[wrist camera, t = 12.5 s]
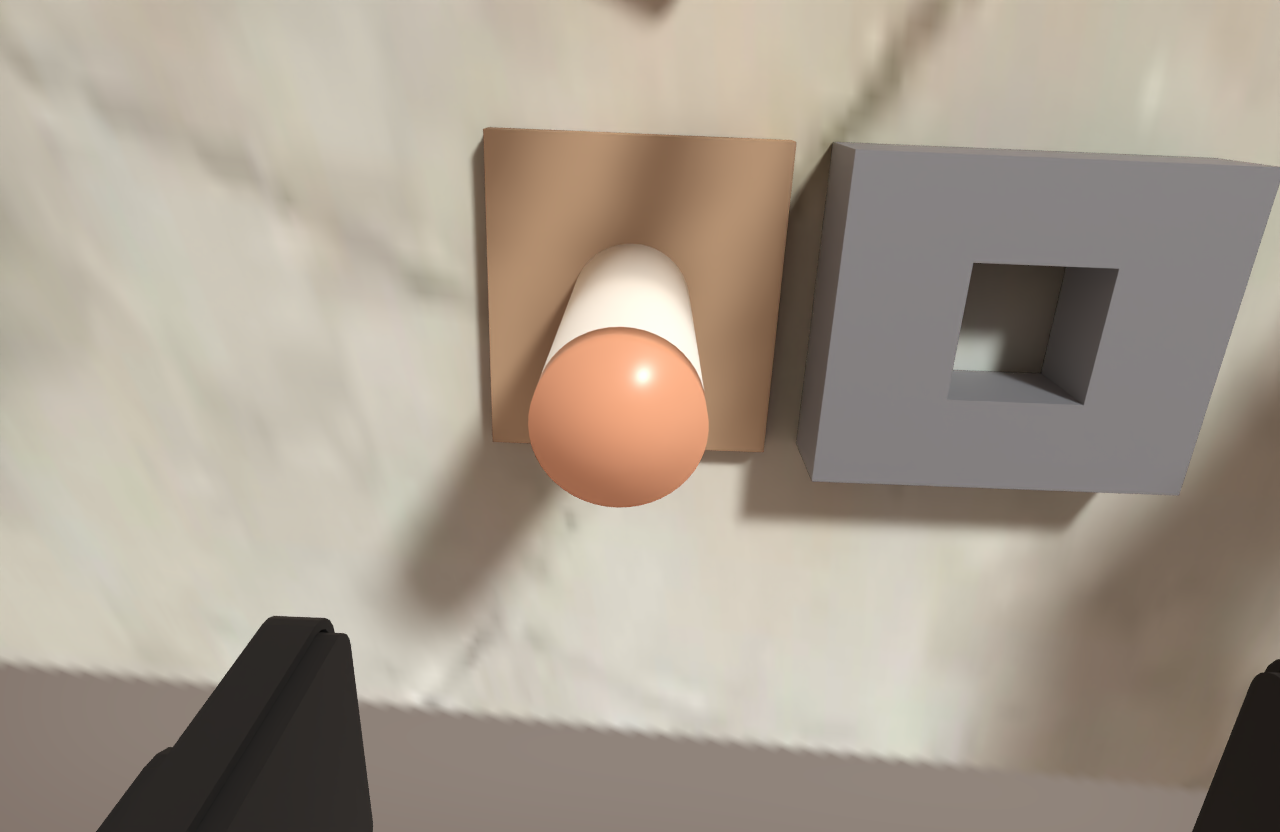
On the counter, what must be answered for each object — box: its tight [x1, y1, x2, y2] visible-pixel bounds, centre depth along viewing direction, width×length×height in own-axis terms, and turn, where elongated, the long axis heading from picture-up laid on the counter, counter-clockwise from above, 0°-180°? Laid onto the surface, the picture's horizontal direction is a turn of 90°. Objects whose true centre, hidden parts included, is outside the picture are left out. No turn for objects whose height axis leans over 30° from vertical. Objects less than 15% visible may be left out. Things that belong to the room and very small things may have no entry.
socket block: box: [796, 142, 1280, 495], centre depth 31 cm, size 14×12×4 cm
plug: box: [528, 244, 709, 507], centre depth 26 cm, size 4×4×12 cm
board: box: [483, 127, 796, 452], centre depth 32 cm, size 11×12×1 cm
